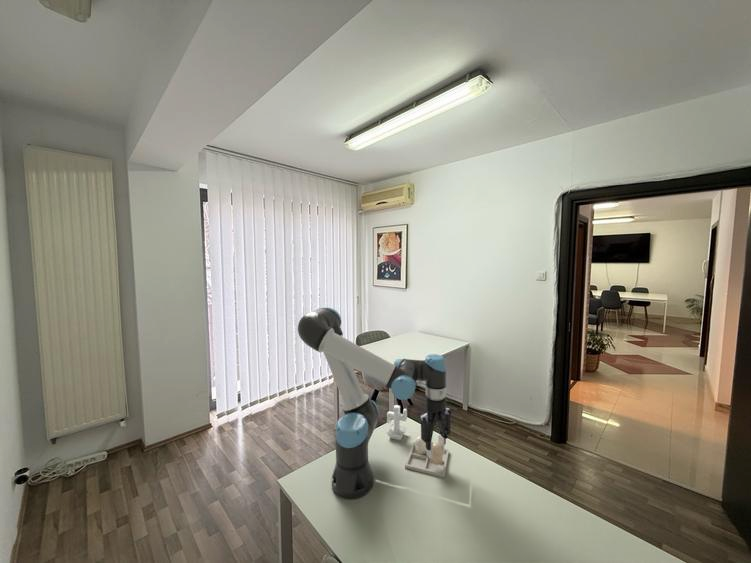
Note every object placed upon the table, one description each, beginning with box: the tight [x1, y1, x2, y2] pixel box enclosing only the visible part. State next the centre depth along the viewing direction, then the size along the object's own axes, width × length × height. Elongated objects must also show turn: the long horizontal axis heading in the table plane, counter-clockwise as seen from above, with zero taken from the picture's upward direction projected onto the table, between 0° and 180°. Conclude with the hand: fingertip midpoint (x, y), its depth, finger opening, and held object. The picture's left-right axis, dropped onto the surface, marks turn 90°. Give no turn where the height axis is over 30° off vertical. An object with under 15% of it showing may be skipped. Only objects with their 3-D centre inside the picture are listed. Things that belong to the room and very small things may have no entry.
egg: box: [430, 442, 443, 465], centre depth 112 cm, size 5×5×7 cm
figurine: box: [386, 404, 408, 441], centre depth 133 cm, size 7×9×15 cm
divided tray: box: [404, 441, 450, 478], centre depth 117 cm, size 15×15×2 cm
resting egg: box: [414, 435, 426, 456], centre depth 122 cm, size 5×5×7 cm
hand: (435, 454), depth 112 cm, fingers closed on egg, 4 cm apart
